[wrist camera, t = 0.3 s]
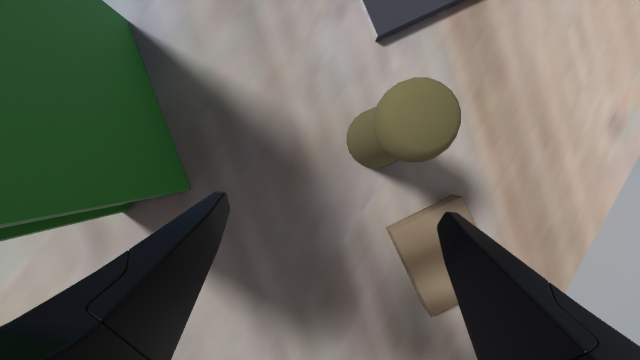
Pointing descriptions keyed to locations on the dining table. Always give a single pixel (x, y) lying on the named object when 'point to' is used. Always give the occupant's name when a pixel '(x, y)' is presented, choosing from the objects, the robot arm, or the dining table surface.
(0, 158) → the hardback book
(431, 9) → the notebook
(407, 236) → the tan flat block
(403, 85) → the cork
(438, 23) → the dining table surface
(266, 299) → the dining table surface
